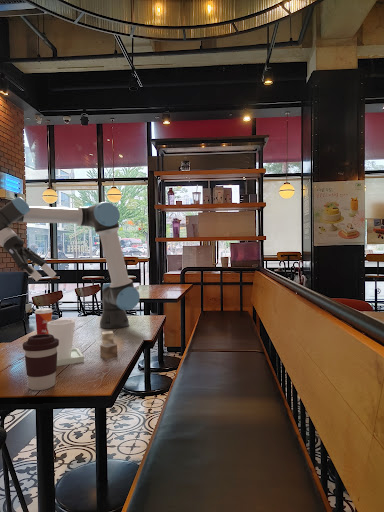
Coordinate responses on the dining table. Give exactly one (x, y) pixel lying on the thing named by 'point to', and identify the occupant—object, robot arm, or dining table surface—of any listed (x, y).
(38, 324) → the paper cup
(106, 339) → the beech block
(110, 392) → the dining table surface
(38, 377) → the coffee cup
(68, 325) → the foam cup
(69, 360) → the tray
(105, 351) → the walnut block
